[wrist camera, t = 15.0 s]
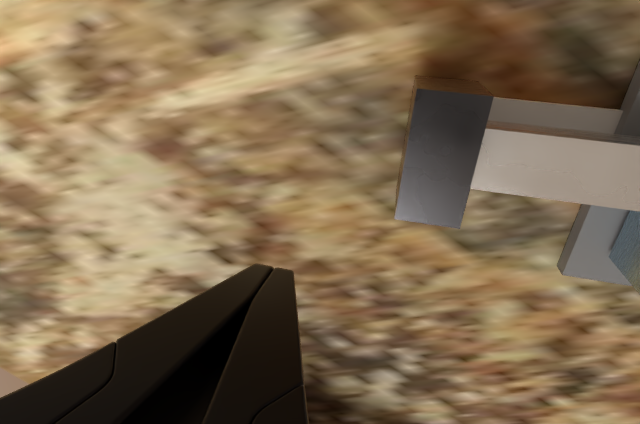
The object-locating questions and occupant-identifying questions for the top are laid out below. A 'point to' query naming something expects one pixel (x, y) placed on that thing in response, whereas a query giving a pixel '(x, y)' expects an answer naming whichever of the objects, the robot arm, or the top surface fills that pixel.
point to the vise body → (592, 221)
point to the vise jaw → (510, 163)
